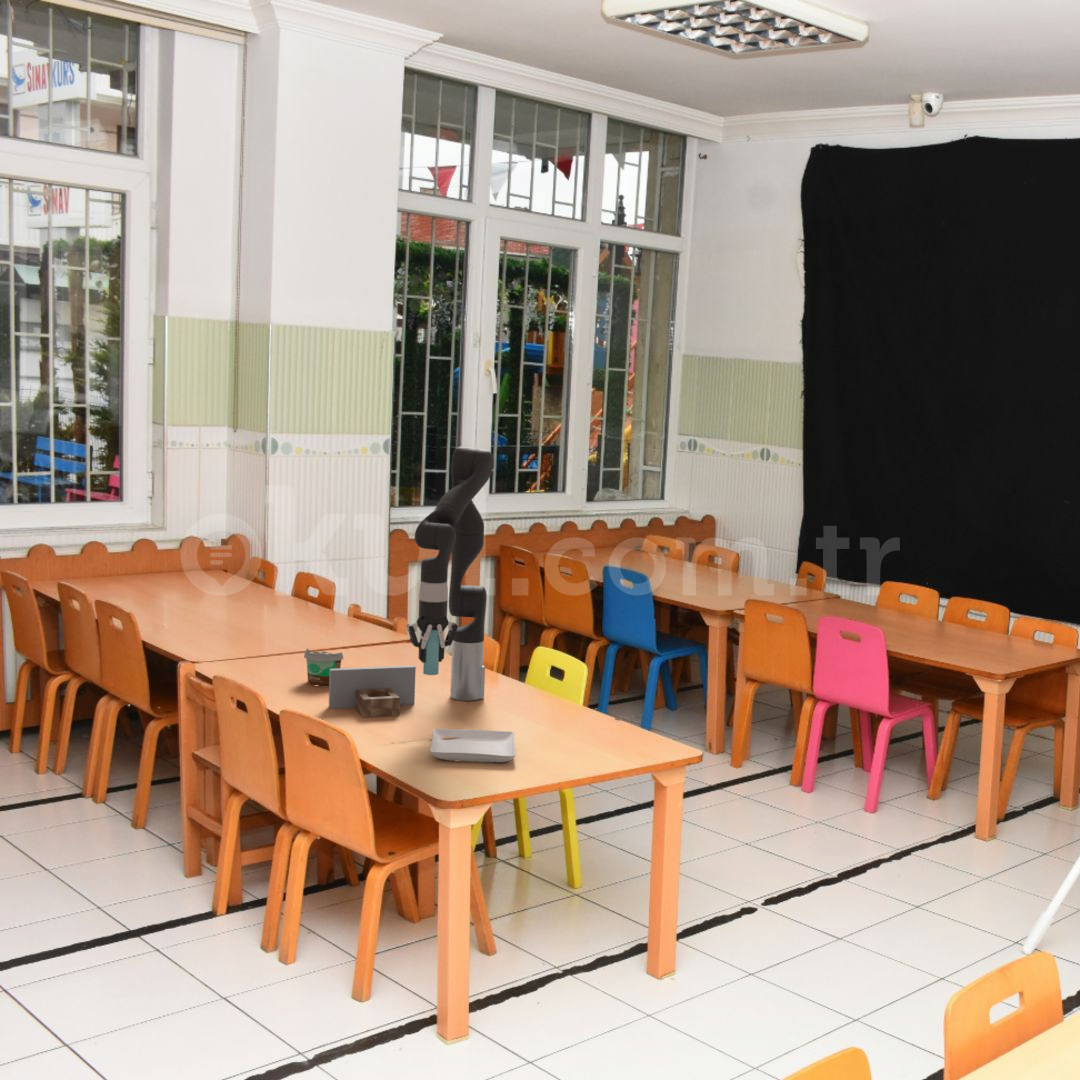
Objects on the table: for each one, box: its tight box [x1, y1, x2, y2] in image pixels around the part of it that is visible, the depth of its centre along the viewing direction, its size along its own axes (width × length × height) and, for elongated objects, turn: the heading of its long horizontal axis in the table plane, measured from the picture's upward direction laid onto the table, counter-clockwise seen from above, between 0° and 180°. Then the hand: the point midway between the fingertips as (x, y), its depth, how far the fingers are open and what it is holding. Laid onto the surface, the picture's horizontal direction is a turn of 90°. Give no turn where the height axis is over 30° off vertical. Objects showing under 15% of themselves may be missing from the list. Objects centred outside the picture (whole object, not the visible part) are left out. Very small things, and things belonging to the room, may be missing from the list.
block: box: [355, 688, 401, 718], centre depth 359 cm, size 10×10×5 cm
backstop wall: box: [328, 664, 417, 710], centre depth 364 cm, size 24×2×12 cm, turn 110°
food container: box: [303, 647, 344, 687], centre depth 389 cm, size 12×6×10 cm, turn 73°
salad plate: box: [429, 728, 516, 763], centre depth 331 cm, size 21×21×3 cm
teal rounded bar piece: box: [422, 630, 440, 676], centre depth 345 cm, size 4×4×12 cm
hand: (431, 661), depth 345 cm, fingers closed on teal rounded bar piece, 4 cm apart
